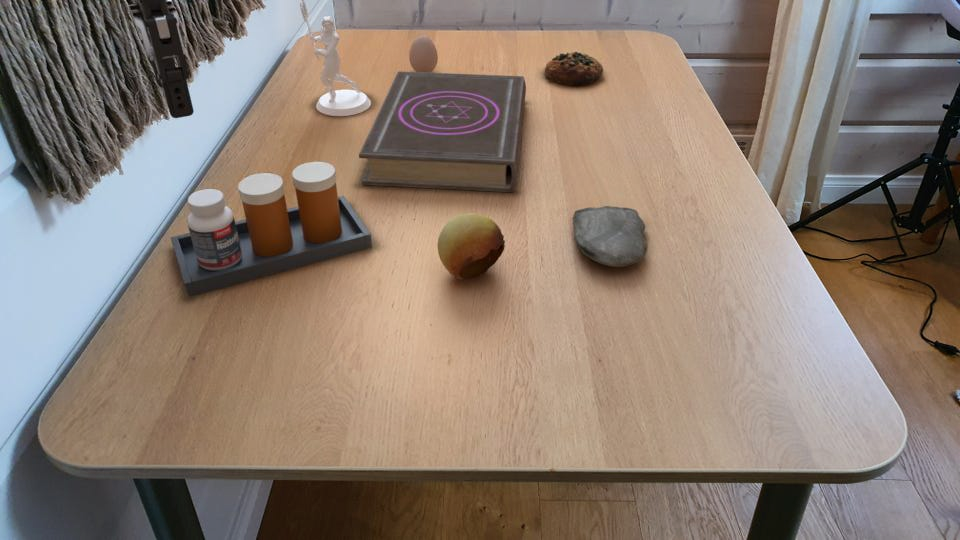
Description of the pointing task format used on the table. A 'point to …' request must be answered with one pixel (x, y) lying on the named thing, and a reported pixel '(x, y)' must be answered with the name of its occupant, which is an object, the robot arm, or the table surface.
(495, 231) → the fruit
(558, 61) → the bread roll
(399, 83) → the book
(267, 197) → the amber bottle middle
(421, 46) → the egg
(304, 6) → the figurine
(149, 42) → the robot arm
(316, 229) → the amber bottle far
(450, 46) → the table surface
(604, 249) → the stone
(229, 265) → the pill bottle
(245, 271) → the tray
